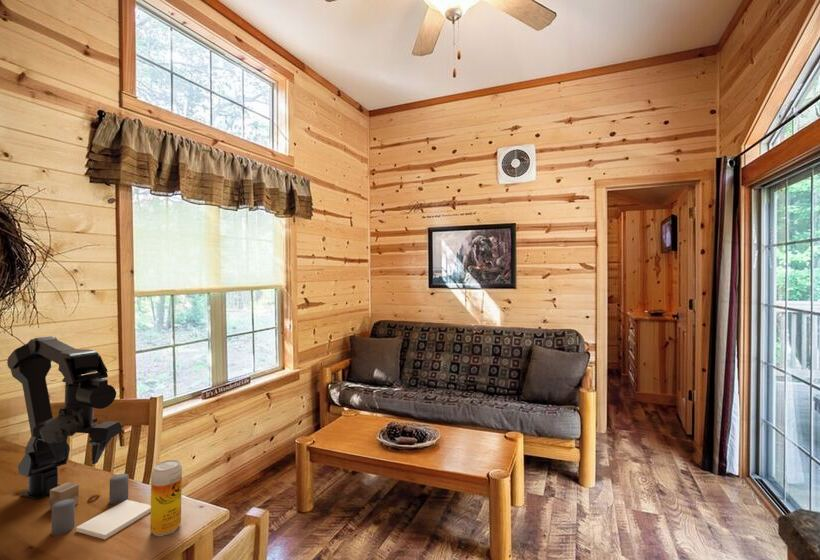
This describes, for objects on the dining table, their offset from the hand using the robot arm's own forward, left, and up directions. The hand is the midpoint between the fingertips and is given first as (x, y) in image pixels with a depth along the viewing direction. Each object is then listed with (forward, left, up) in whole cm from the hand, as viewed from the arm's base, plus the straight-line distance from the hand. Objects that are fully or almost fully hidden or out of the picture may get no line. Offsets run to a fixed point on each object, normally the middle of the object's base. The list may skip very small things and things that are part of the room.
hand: (77, 462), depth 100 cm
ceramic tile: (+15, -1, -11) cm, 19 cm away
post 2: (+7, +6, -11) cm, 14 cm away
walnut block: (-3, -1, -11) cm, 12 cm away
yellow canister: (+29, 0, -12) cm, 31 cm away
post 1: (+7, -7, -11) cm, 15 cm away
